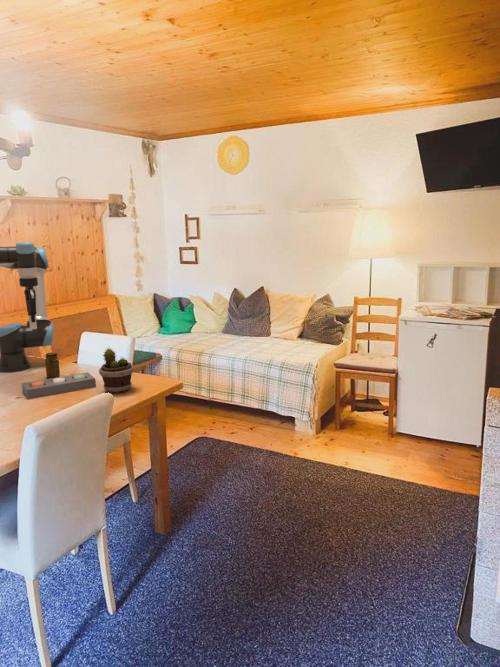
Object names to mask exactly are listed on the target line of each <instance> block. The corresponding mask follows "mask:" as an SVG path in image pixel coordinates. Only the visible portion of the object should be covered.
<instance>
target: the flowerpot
mask: <svg viewBox="0 0 500 667" xmlns="http://www.w3.org/2000/svg"><path fill="white" fill-rule="evenodd" d="M102 357H103V358H102V359H103V361H104V364H102V365H101V367H100V368H99V370H98V374H99V376H101V378H102V381H103V388H104V391H106V392H107V393H108V392H109V393H108V394H122V393H126V392H128V391H129V390H130V388H131V387H132V385H133V384H132V381H131V380H132V375H133V373H134V371H135V368H134V366H133V365H132V363H131V362H129V361H128V359H126V357H120V358H119V360H117V354H116V351H115V350H113V349H112V348H109V347H106V349H105V351H104V352H103V354H102Z"/></svg>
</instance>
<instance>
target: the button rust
mask: <svg viewBox="0 0 500 667" xmlns="http://www.w3.org/2000/svg"><path fill="white" fill-rule="evenodd" d="M34 381H35V382H33V381H31V382H32V383H31V386H32V387H36V386H42V385H44V382H43V381H39V380H34Z"/></svg>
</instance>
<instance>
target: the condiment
mask: <svg viewBox="0 0 500 667" xmlns="http://www.w3.org/2000/svg"><path fill="white" fill-rule="evenodd" d="M44 362H45V372H46V374H45V375H46V376H43V378H44V379H51V378H57V377H60V376H61V377H63V376H62V375H60V374H61V371H60V361H59V358H58V352H47V353H46V354H45V360H44Z"/></svg>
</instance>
